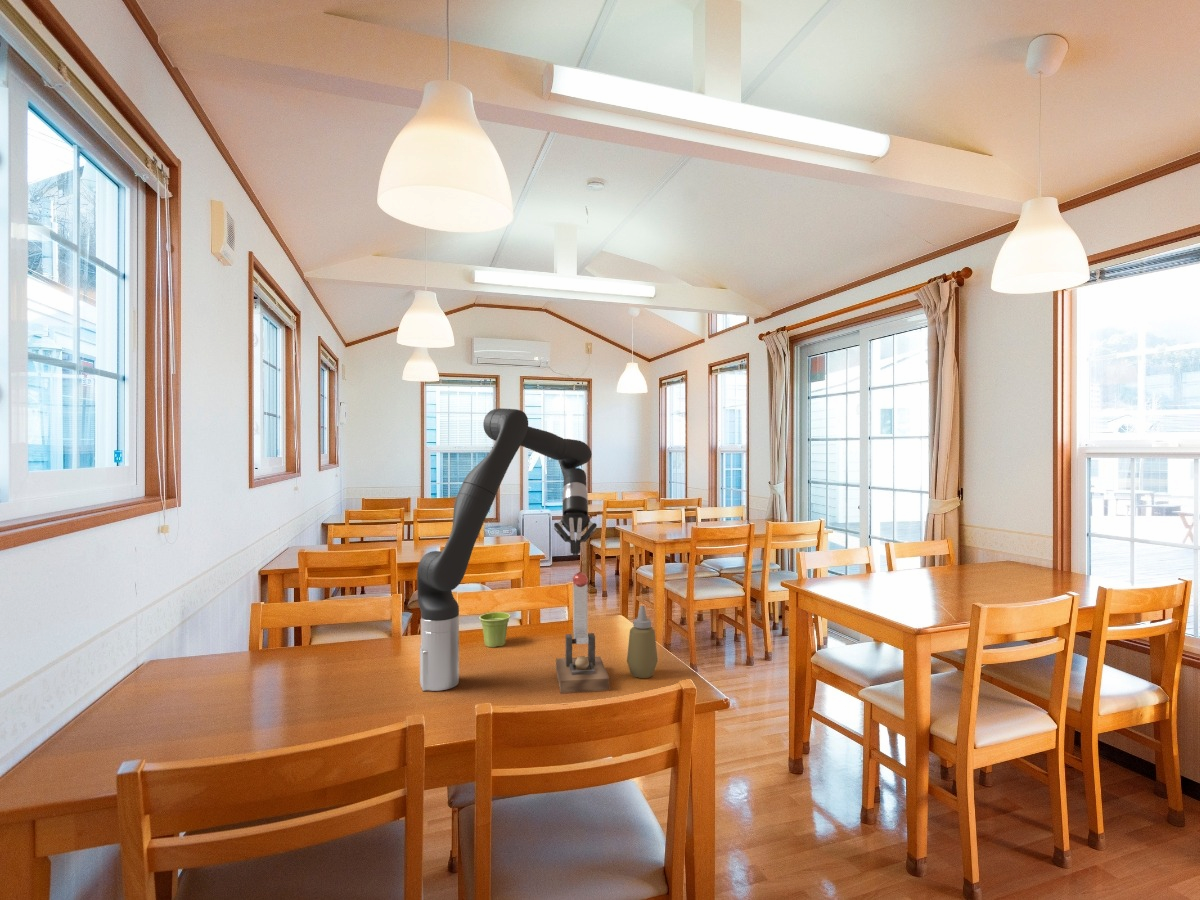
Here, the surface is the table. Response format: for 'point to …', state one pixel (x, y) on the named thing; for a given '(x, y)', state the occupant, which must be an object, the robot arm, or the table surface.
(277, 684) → the table surface
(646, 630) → the squeeze bottle
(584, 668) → the walnut
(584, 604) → the lever
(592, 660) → the nutcracker base
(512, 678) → the table surface
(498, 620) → the plant pot
